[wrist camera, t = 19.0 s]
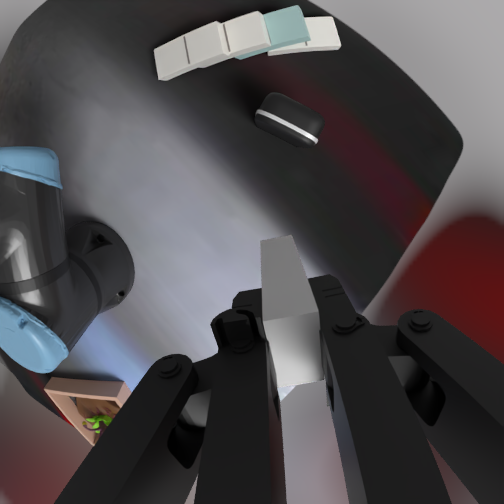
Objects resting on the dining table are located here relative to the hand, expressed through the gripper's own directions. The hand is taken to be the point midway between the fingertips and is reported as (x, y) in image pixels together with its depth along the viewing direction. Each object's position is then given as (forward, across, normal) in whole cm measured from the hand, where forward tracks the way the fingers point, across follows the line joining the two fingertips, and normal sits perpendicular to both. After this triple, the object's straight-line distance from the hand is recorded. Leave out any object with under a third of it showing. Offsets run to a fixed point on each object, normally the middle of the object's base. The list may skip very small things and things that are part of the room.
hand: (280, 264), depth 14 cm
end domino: (+26, +4, +21) cm, 33 cm away
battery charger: (+27, +4, +8) cm, 28 cm away
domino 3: (+26, 0, +21) cm, 33 cm away
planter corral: (+26, -50, -46) cm, 73 cm away
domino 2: (+26, -5, +21) cm, 34 cm away
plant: (+27, -50, -46) cm, 73 cm away
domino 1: (+26, -10, +21) cm, 35 cm away
